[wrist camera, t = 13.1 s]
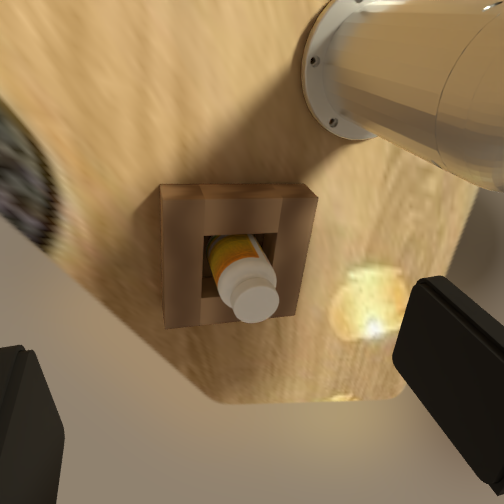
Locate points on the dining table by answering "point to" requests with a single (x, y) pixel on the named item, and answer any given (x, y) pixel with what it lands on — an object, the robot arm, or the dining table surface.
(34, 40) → the dining table surface
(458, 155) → the robot arm
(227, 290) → the supplement bottle
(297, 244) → the socket block
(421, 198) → the dining table surface
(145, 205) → the dining table surface
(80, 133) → the dining table surface
